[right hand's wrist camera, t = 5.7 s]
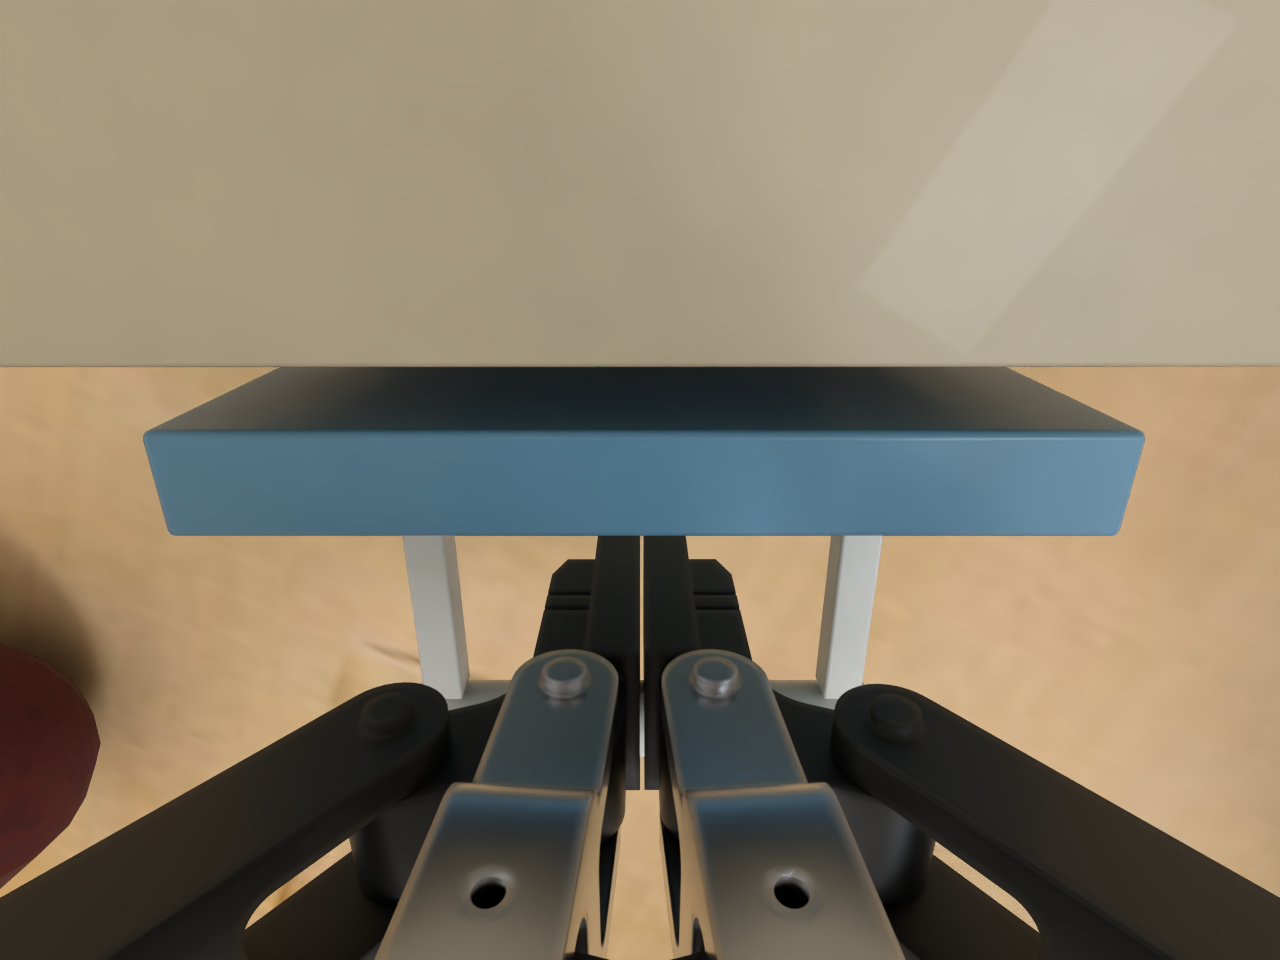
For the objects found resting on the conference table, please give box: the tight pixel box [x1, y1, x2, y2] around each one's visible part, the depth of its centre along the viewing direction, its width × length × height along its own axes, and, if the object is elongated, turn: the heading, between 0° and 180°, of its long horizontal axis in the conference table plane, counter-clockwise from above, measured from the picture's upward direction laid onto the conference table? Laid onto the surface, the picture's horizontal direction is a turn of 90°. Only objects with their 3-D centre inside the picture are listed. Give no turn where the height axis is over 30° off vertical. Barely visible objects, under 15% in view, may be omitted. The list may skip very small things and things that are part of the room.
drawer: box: [143, 367, 1145, 757], centre depth 11 cm, size 19×10×10 cm, turn 0°
